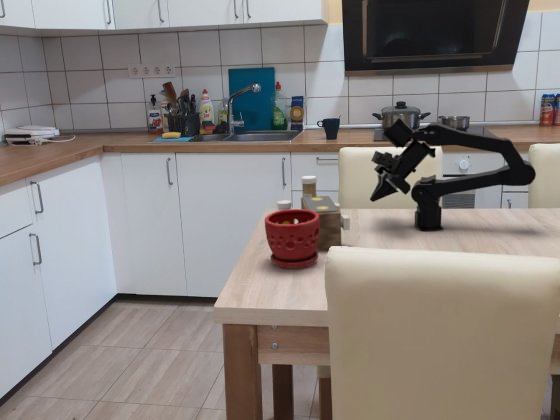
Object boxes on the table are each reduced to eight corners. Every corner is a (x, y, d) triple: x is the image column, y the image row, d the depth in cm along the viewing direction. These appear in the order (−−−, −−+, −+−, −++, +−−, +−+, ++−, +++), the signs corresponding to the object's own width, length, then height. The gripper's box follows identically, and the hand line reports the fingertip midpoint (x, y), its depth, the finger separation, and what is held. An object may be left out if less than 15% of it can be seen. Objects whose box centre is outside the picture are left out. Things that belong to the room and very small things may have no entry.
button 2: (347, 226, 142) (347, 214, 141) (349, 230, 138) (349, 218, 138) (311, 228, 141) (311, 217, 140) (313, 232, 138) (312, 220, 137)
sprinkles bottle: (320, 218, 168) (319, 176, 164) (308, 221, 165) (307, 178, 162) (311, 215, 171) (310, 174, 168) (300, 218, 169) (298, 176, 166)
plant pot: (270, 253, 138) (268, 209, 135) (321, 253, 137) (320, 208, 134) (263, 272, 126) (260, 223, 123) (319, 272, 124) (318, 222, 121)
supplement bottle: (298, 232, 155) (296, 200, 152) (290, 238, 150) (289, 204, 147) (281, 231, 157) (279, 199, 154) (273, 236, 152) (271, 203, 150)
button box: (329, 229, 157) (328, 195, 154) (341, 250, 138) (340, 213, 136) (302, 231, 156) (300, 197, 154) (310, 252, 138) (309, 214, 135)
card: (327, 197, 153) (327, 195, 152) (337, 211, 137) (337, 209, 137) (303, 198, 152) (303, 197, 152) (310, 213, 137) (310, 211, 137)
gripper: (380, 136, 157) (344, 176, 159) (398, 144, 139) (357, 189, 141) (407, 161, 160) (371, 200, 162) (428, 172, 142) (387, 215, 144)
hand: (371, 200), depth 152 cm, fingers closed
